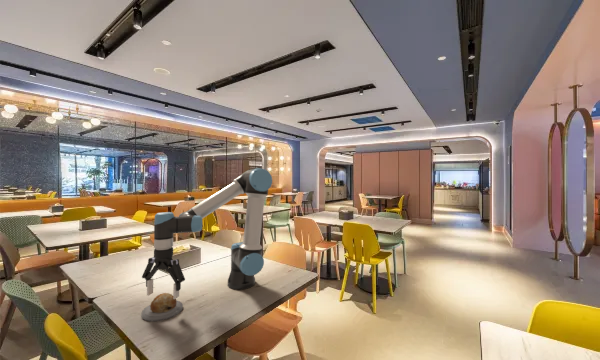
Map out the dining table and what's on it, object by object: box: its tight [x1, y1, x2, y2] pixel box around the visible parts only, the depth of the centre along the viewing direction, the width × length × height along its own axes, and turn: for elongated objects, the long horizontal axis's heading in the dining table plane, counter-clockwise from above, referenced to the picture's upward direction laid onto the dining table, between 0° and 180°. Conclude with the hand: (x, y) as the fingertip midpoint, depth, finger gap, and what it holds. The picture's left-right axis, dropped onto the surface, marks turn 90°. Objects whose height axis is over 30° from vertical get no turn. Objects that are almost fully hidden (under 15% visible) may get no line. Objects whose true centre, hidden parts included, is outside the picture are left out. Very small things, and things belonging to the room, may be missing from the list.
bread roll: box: [149, 292, 178, 313], centre depth 111 cm, size 10×10×8 cm
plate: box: [140, 299, 184, 322], centre depth 111 cm, size 16×16×1 cm
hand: (162, 296), depth 111 cm, fingers open, 13 cm apart
